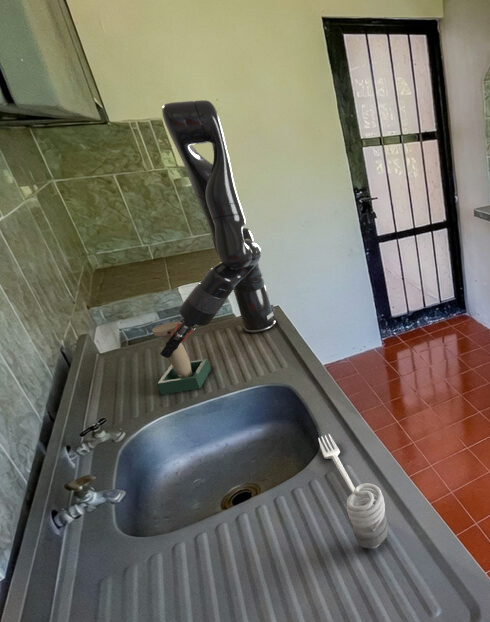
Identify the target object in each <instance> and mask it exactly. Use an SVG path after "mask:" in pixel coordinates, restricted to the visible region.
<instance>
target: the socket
mask: <svg viewBox="0 0 490 622" xmlns="http://www.w3.org/2000/svg"><path fill="white" fill-rule="evenodd" d="M190 364H191V371H192V376H190V377H185V378H179V377H178V374H177V373H176V372H175V370H174V368H173V366H172V364H171V363H170V366H169V367H168V368H167V370H166V371H165V372H164V373H163V375H162V376H161V378H160V379H159V380H158V382H157V383H156V384H157V387H158V389H159V392H160V394H161V395H169V394H176V393H181V392H187V391H194V390H200V389H201V388H202V386H203V384H204V382H205V381H206V379H207V377H208V375H209V374H210V372H211V370H212V369H211V365H210V363H209V359H208V358H203V359H197V360H190Z"/></svg>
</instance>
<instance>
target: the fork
mask: <svg viewBox="0 0 490 622" xmlns="http://www.w3.org/2000/svg"><path fill="white" fill-rule="evenodd" d="M327 434H328V437H329V439H328V437H327V435H326V434H324V437H323V436H320V437H321V439H320V437H317V438H318V443H319V447H320V451H321V453H322V456H323V458H324V459H327V460H328V459H331V460H332V461H333V463H334V465H335V466H336V468H337V470H338V471H339V473H340V474H341V476H342V478H343V480H344V481H345V483H346V485H347V487H348V488H349V490H350V491H351V494H352V493H354V490H355V488H356V487H355V485H354V483H353V482H352V480H351V477H350V476H349V475H348V472H347V470H346V469H345V467H344V465H343V463H342V462H341V460H340V458H339V455H340V453H341V451H340V449H339V447H338V445H337V444H336V442H335V441H334V439H333V438H332V436H331V433H327ZM324 438H325V439H324ZM325 440H326V441H325ZM329 440H330V441H329ZM330 442H331V443H330ZM355 497H356V496H355Z"/></svg>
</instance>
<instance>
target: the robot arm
mask: <svg viewBox="0 0 490 622" xmlns="http://www.w3.org/2000/svg"><path fill="white" fill-rule="evenodd" d="M161 113H162V118H163V121H164V124H165V127H166V129H167V131H168V133H169V135H170V138H171V140H172V142H173V144H174V146H175V149H176V150H177V153H178V154H179V157H180V159H181V161H182V163H183V165H184V168H185V171H186V173H187V176H188V179H189V182H190V185H191V187H192V190H193V194H194V196H195V198H196V201H197V203H198V206H199V207H200V210H201V212H202V214H203V217H204V219H205V221H206V225H207V227H208V230H209V233H210V237H211V240H212V244H213V247H214V249H215V252H216V254H217V257H218V258H219V260H220V261H221V262H219V263H218V264H216V265H214V266H212V267H211V268H210V269H208V271H207V272H206V273H205V275H204V276H203V278H202V279H201V280H200V281H199V283H198V284H197V285H196V286H195V287H194V288H193V289H192V291H191V292H190V293H189V294H188V296H187V297H186V299H185V300H184V301H183V302H182V304H181V305H180V307H179V309H178V312H179V315H180V316H181V317H182V318H181V319H180V320H179V321H178V322H179V323H178V324H177V325H176V326H177V327H176V328H175V330H174V331H173V332H172V334H171V338H170V339H169V341H168V342H167V343H166V345H164V348H163V349H161V351H160V352H159V355H160V356H161V357H163V358H166V359H170V358H169V357H170V356H171V354H172V353H173V352H174V351H175V350H176V349H177V348H178V347H179V345H180V343H181V342H182V343H185V342H186V340H187V339H189V338H188V337H190V335H191V334H193V333H194V331H195V330H196V329H197V327H198V326H201V327H202V326H207V325H209V324H210V323H211V322H212V320H213V319H214V318H215V317H216V315H217V314H218V312H219V311H220V310H221V308H222V307H223V306H224V304H225V302H226V301H227V299H228V298H229V296H230V295H231V293H232V292H233V293H234V296H235V300H236V304H237V307H238V311H239V313H240V317H241V320H242V324H243V329H244V331H245V332H246V333H249V334H257V333H262V332H267V331H269V330H271V329H272V328H274V327H275V325H276V323H277V322H276V319H275V317H274V316H275V314H276V311H275V306H274V304H271V301H270V298H269V294H268V290H267V288H266V283H265V280H264V275H263V272H262V268H261V264H260V259H261V256H262V251H261V247H260V246H259V244H258V243H257V242H255V239H254V235H253V233H252V231H251V230H250V229H249V228H248V227H246V225H247V221H246V217H245V214H244V210H243V206H242V204H241V202H240V198H239V194H238V192H237V188H236V184H235V180H234V174H233V169H232V162H231V158H230V154H229V150H228V146H227V145H228V144H227V141H226V137H225V132H224V127H223V124H222V121H221V119H220V116H219V113H218V111H217V109H216V107H215V105H214V104H213V103H212V102H211V101H209V100H207V99H205V100H201V99H200V100H188V101H187V100H185V101H174V102H168V103H167V102H166V103H165V104H164V105H163V106H162V109H161ZM200 144H211V146H212V151H213V161H212V163H211V162H210V161H209V160H207V159H206V158H205V157H204V156H202V154H200V153H199V152H198V151H197V149H196V148H195V147H194V145H200ZM178 328H179V329H178ZM176 331H177V332H176Z"/></svg>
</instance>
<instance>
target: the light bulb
mask: <svg viewBox="0 0 490 622" xmlns="http://www.w3.org/2000/svg"><path fill="white" fill-rule="evenodd" d="M355 496H356V497H355ZM384 498H385V497H384V496H383V492H382V490H381V488H379V486H378V485H375V484H373V483H368V482H366V483H361V484H358V485H357V486H356V487H355V490H354V493H352V492H351V494H350V495H349V496H348V498H347V500H346V511H347V514H348V519H349V520H350V522H351V524H352V532H353V535H354V539H355V541H356V543H357V544H358V545H359V547H362V548H364V549H376V548H377V547H379V546H380V545H381V544H382V543H383V542H384V541H385V539H387V536H388V530H389V529H388V519H387V516H386V511H385V508H386V505H385V499H384Z"/></svg>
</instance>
